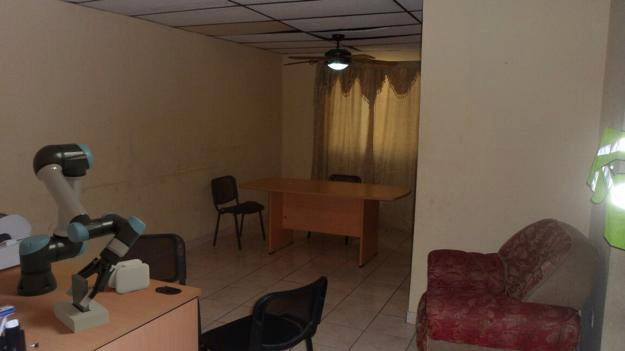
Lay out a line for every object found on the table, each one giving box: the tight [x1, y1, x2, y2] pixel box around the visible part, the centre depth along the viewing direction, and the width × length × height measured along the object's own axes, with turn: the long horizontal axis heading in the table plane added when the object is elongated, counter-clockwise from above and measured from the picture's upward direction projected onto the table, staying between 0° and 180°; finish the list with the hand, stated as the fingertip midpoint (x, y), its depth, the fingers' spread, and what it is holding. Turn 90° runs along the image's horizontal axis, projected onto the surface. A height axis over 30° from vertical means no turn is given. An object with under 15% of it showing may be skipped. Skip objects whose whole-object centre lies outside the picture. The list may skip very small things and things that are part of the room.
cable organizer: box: [107, 258, 150, 295], centre depth 207 cm, size 15×11×12 cm
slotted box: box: [53, 298, 110, 334], centre depth 174 cm, size 20×12×6 cm, turn 47°
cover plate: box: [71, 273, 89, 313], centre depth 173 cm, size 10×2×16 cm, turn 47°
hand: (74, 300), depth 172 cm, fingers open, 13 cm apart
